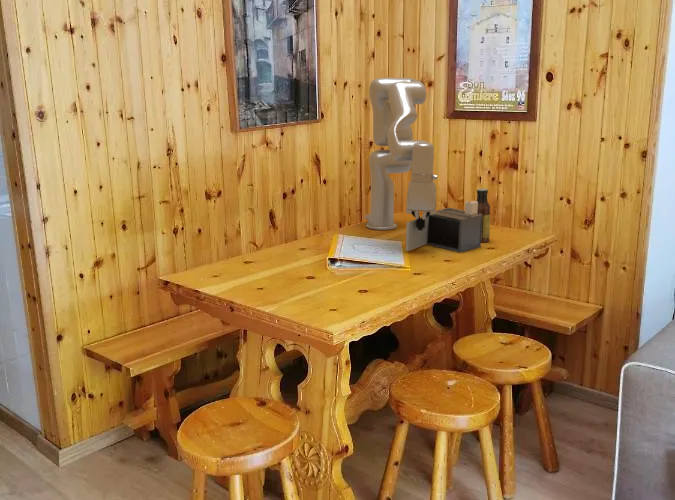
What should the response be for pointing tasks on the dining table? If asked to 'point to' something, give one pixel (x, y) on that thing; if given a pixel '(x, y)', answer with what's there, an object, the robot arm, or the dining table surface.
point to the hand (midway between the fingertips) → (420, 229)
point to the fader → (471, 207)
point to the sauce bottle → (484, 213)
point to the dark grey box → (454, 230)
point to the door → (416, 235)
